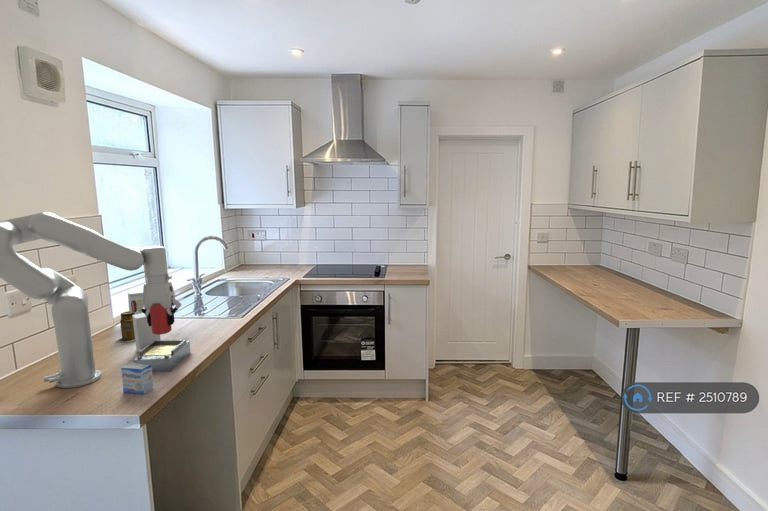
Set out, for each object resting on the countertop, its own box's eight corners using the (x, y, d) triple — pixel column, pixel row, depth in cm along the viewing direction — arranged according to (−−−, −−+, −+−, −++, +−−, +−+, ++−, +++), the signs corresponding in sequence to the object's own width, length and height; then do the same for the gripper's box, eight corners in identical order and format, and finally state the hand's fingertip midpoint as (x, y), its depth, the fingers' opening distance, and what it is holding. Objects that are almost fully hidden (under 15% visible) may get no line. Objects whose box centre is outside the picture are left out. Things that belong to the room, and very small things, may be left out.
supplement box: (131, 327, 196) (127, 294, 193) (129, 322, 203) (126, 290, 201) (153, 323, 201) (150, 291, 199) (151, 319, 209) (148, 287, 206)
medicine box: (122, 392, 131) (120, 367, 130) (133, 386, 136) (130, 362, 134) (144, 394, 130) (141, 369, 129) (154, 388, 134) (151, 363, 133)
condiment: (142, 335, 185) (139, 310, 183) (131, 342, 176) (128, 316, 174) (126, 335, 184) (123, 310, 183) (114, 342, 176) (111, 316, 174)
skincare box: (157, 345, 173) (154, 310, 170) (162, 349, 168) (159, 313, 166) (135, 350, 167) (131, 314, 164) (139, 355, 162) (135, 318, 160)
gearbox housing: (170, 371, 147) (168, 354, 146) (135, 372, 146) (133, 355, 145) (190, 352, 165) (189, 337, 164) (159, 353, 164) (157, 337, 163)
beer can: (167, 328, 158) (164, 298, 156) (174, 331, 154) (172, 301, 152) (149, 332, 153) (146, 302, 151) (156, 336, 149) (153, 305, 147)
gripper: (184, 276, 155) (188, 321, 157) (138, 277, 153) (143, 322, 156) (176, 280, 147) (180, 327, 150) (127, 281, 146) (132, 328, 149)
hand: (161, 324), depth 153 cm, fingers closed on beer can, 6 cm apart
